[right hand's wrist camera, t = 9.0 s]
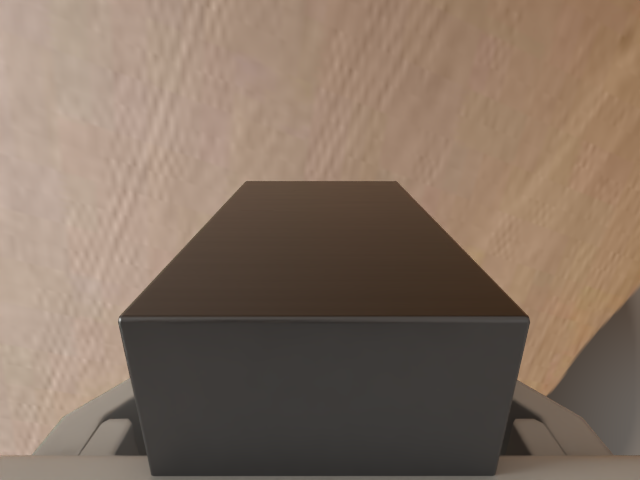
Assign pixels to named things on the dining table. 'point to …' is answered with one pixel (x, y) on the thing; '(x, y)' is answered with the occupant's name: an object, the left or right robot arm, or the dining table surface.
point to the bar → (323, 341)
